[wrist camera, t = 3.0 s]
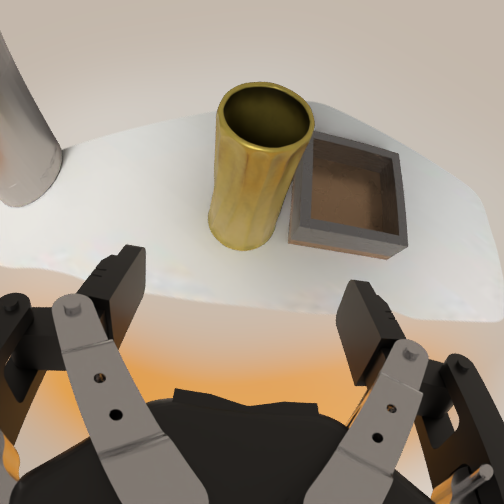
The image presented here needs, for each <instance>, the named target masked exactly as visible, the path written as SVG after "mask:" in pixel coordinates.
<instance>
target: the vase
mask: <svg viewBox="0 0 504 504" xmlns="http://www.w3.org/2000/svg"><path fill="white" fill-rule="evenodd" d="M314 126H315V120H314V116H313V113H312V110H311V108H310V106H309V105H308V104H307V102H306V101H305V100H304V99H303V98H301V97H300V96H299V95H298V94H296V93H295V92H293V91H291V90H289V89H287V88H285V87H283V86H280V85H278V84H274V83H270V82H250V83H244V84H241V85H238V86H236V87H234V88H233V89H231V90H230V91H228V92H227V93H226V94H225V95H224V97H223V99H222V100H221V102H220V104H219V107H218V110H217V114H216V140H215V161H214V191H213V196H212V201H211V205H210V210H209V213H208V223H209V228H210V230H211V232H212V234H213V235H214V237H215V238H216V239H217V240H218V241H219V242H220V243H222V244H223V245H224V246H226V247H228V248H231V249H234V250H239V251H247V250H252V249H255V248H258V247H260V246H262V245H263V244H265V243H266V242H267V241H268V240H269V238H270V237H271V236H272V234H273V232H274V229H275V224H276V221H277V218H278V216H279V213H280V211H281V208H282V205H283V202H284V199H285V196H286V193H287V191H288V189H289V186H290V184H291V181H292V179H293V176H294V174H295V171H296V169H297V166H298V164H299V162H300V159H301V157H302V155H303V153H304V151H305V149H306V147H307V145H308V143H309V141H310V139H311V137H312V134H313V131H314Z"/></svg>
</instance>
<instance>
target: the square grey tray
mask: <svg viewBox="0 0 504 504" xmlns="http://www.w3.org/2000/svg"><path fill="white" fill-rule="evenodd" d="M288 243H289V244H295V245H301V246H308V247H314V248H320V249H326V250H332V251H338V252H344V253H350V254H356V255H362V256H368V257H374V258H380V259H385V260H387V259H389V258H390V257H392V256H394V255H395V254H397V253H399V252H400V251H402V250H404V249H405V248H407V247H408V239H407V224H406V212H405V201H404V191H403V183H402V175H401V167H400V160H399V154H398V153H394V152H391V151H388V150H385V149H381V148H378V147H374V146H371V145H367V144H364V143H360V142H356V141H353V140H349V139H345V138H341V137H337V136H333V135H329V134H325V133H320V132H316V131H313V134H312V137H311V139H310V141H309V143H308V145H307V147H306V149H305V151H304V153H303V155H302V157H301V159H300V162H299V164H298V166H297V169H296V171H295V174H294V176H293V186H292V200H291V213H290V225H289V237H288Z"/></svg>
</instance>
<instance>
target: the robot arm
mask: <svg viewBox="0 0 504 504" xmlns="http://www.w3.org/2000/svg"><path fill="white" fill-rule="evenodd" d="M61 162H62V150H61V148H60V145H59V143H58V142H57V140H56V138H55V137H54V135H53V133H52V131H51V130H50V128H49V126H48V124H47V123H46V121H45V119H44V117H43V115H42V114H41V112H40V110H39V108H38V106H37V105H36V103H35V101H34V99H33V97H32V95H31V94H30V92H29V90H28V88H27V86H26V84H25V82H24V80H23V78H22V76H21V74H20V72H19V70H18V68H17V66H16V64H15V62H14V60H13V58H12V56H11V54H10V52H9V50H8V48H7V45H6V43H5V41H4V39H3V36H2V34H1V32H0V200H1V201H2V202H3V203H4V204H6V205H8V206H10V207H22V206H25V205H28V204H30V203H32V202H33V201H35V200H37V199H38V198H39V197H40V196H42V195H43V194H44V193H45V192H46V191H47V190H48V188H49V187H50V186H51V185H52V183H53V182H54V180H55V178H56V176H57V174H58V172H59V170H60V167H61ZM145 275H146V251H145V248H144V247H139V246H133V245H125V246H124V247H123V249H122V250H121V251H120V253H119V254H118V255H117V256H116V255H110V256H108V257H107V258H105V259H103V260H101V262H100V263H99V264H98V265H97V267H96V269H94V271H93V272H92V273H91V275H90V276H89V277H88V278H87V280H86V281H85V282H84V283H83V285H82V286H81V287H80V289H79V290H78V291H77V293H76V294H68V295H64V296H62V297H60V298H58V299H57V300H56V301H55V302H54V303H53V306H52V307H45V308H44V307H31V303H30V300H29V298H28V297H27V296H26V295H24V294H21V293H10V294H7V295H4V296H3V297H1V298H0V504H504V422H503V420H502V418H501V416H500V414H499V412H498V410H497V408H496V406H495V404H494V402H493V400H492V398H491V396H490V394H489V392H488V390H487V388H486V386H485V384H484V382H483V380H482V379H481V377H480V375H479V373H478V371H477V369H476V368H475V366H474V364H473V363H472V362H471V361H470V360H469V359H468V358H466V357H465V356H463V355H460V354H451V355H449V356H448V357H447V359H446V360H445V362H444V363H441V362H438V361H434V360H430V359H428V354H427V352H426V351H425V349H424V348H423V347H422V346H421V345H419V344H418V343H416V342H414V341H412V340H408V339H406V337H405V335H404V333H403V332H402V330H401V328H400V326H399V324H398V322H397V320H395V317H394V315H393V313H391V312H392V311H391V310H390V308H389V306H388V304H387V303H386V302H385V301H384V300H383V299H382V298H381V297H380V296H379V295H376V293H375V292H374V290H373V288H372V286H371V284H370V283H369V282H365V281H358V280H350V281H349V283H348V285H347V287H346V290H345V293H344V295H343V298H342V301H341V303H340V306H339V308H338V311H337V315H336V326H337V329H338V333H339V336H340V339H341V342H342V345H343V348H344V352H345V355H346V358H347V361H348V364H349V368H350V371H351V375H352V378H353V381H354V385H355V386H367V391H366V393H365V394H364V396H363V397H362V399H361V401H360V403H359V404H358V406H357V407H356V409H355V411H354V412H353V414H352V416H351V417H350V419H349V420H348V422H347V424H346V425H343V424H342V423H340V422H339V421H337V420H335V419H333V418H330V417H328V416H325V415H322V414H319V412H318V406H317V403H297V402H279V403H271V404H263V405H256V406H246V405H242V404H239V403H236V402H233V401H230V400H227V399H224V398H221V397H218V396H215V395H212V394H207V393H200V392H194V391H188V390H182V389H176V388H175V391H174V396H173V398H167V399H159V400H155V401H150V402H148V403H145V401H144V399H143V398H142V396H141V394H140V392H139V390H138V388H137V387H136V385H135V383H134V381H133V379H132V377H131V375H130V373H129V371H128V369H127V367H126V365H125V363H124V361H123V360H122V357H121V355H120V353H119V351H118V350H119V347H120V345H121V343H122V341H123V339H124V336H125V334H126V332H127V330H128V328H129V325H130V323H131V321H132V319H133V317H134V314H135V313H136V310H137V308H138V306H139V304H140V302H141V300H142V298H143V295H144V291H145ZM10 356H11V357H10ZM9 357H10V358H9ZM8 359H9V360H8ZM7 361H8V362H7ZM6 362H7V363H6ZM5 364H6V365H5ZM47 370H56V371H67V374H68V377H69V380H70V383H71V386H72V389H73V392H74V395H75V398H76V401H77V404H78V407H79V410H80V412H81V415H82V418H83V420H84V423H85V425H86V428H87V430H88V433H89V435H90V436H89V437H88V438H86V439H85V440H83V441H82V442H80V443H78V444H76V445H75V446H73V447H71V448H69V449H68V450H66V451H64V452H63V453H61V454H59V455H58V456H56V457H54V458H53V459H51V460H49V461H47V462H45V463H44V464H42V465H40V466H38V467H36V468H35V469H33V470H31V471H29V472H28V473H26V474H25V475H24V476H22V477H21V478H19V466H20V458H19V454H18V452H17V450H16V449H15V447H14V445H15V442H16V439H17V437H18V434H19V432H20V429H21V427H22V424H23V422H24V420H25V417H26V415H27V413H28V410H29V408H30V406H31V403H32V401H33V399H34V397H35V395H36V392H37V390H38V388H39V386H40V384H41V382H42V380H43V377H44V375H45V373H46V371H47ZM453 405H454V406H455V409H456V411H457V414H458V416H459V426H458V428H457V430H456V431H454V429H453V426H452V423H451V421H450V418H449V416H448V413H447V412H448V411H449V410H450V408H451V407H452V406H453ZM413 423H415V426H416V430H417V433H418V436H419V440H420V443H421V446H422V450H423V453H424V457H425V461H426V464H427V468H428V472H429V476H430V480H431V483H432V488H433V492H432V495H431V499H430V498H429V497H428V496H426V495H425V494H424V493H423V492H422V491H420V490H419V489H418V488H417V487H416V486H414V485H413V484H412V483H411V482H410V481H408V480H407V479H406V478H405V477H404V476H402V475H401V474H400V473H399V472H398V471H396V470H395V467H396V465H397V462H398V460H399V458H400V456H401V453H402V451H403V448H404V445H405V443H406V441H407V438H408V436H409V433H410V431H411V428H412V425H413Z"/></svg>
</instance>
